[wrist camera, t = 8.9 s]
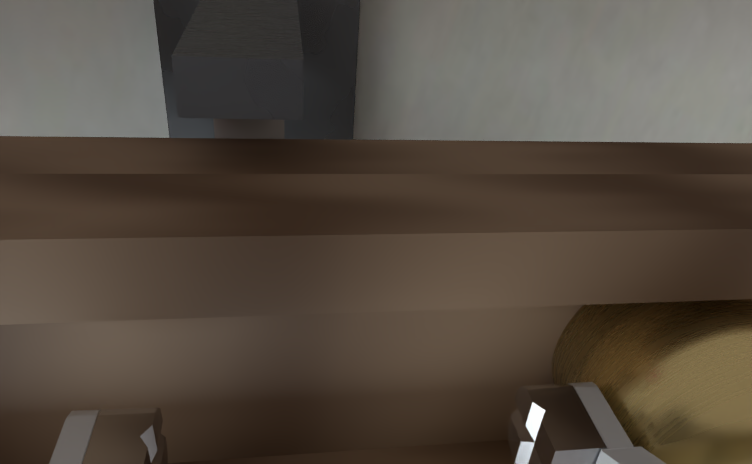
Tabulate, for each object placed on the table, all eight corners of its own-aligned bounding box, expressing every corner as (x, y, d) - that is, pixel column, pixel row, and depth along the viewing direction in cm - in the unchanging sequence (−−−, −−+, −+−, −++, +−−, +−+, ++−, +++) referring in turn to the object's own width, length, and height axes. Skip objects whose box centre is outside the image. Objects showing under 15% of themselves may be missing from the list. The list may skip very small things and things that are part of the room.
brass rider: (533, 426, 15) (595, 564, 12) (578, 263, 13) (670, 390, 10) (715, 410, 16) (814, 537, 13) (793, 253, 13) (939, 368, 10)
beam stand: (194, 309, 25) (147, 562, 16) (152, -70, 17) (22, 15, 9) (340, 305, 26) (372, 543, 17) (359, -57, 18) (431, 32, 10)
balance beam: (-238, 408, 17) (-475, 668, 12) (-489, 35, 12) (-1152, 200, 6) (666, 362, 21) (798, 537, 16) (793, 72, 16) (1059, 190, 11)
